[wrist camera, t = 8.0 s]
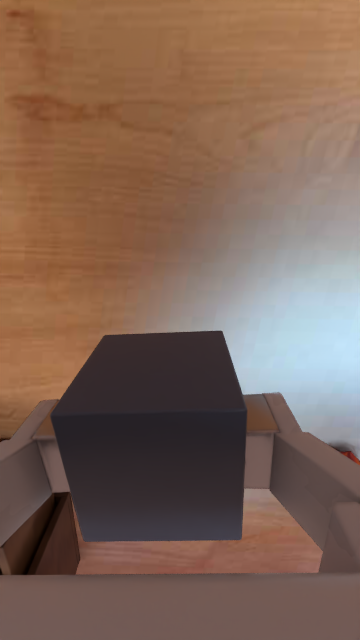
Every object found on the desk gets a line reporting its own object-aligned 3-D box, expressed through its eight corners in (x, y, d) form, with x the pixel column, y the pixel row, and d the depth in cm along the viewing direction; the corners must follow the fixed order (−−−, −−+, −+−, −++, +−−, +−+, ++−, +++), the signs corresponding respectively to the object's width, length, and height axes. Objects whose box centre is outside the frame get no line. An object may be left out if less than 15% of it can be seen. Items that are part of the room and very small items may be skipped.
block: (119, 428, 11) (82, 543, 7) (103, 334, 9) (47, 414, 5) (222, 425, 10) (242, 541, 7) (222, 329, 9) (248, 409, 5)
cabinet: (-11, 487, 34) (-92, 599, 24) (69, 490, 34) (22, 604, 24) (9, 556, 39) (-51, 672, 29) (80, 558, 39) (44, 676, 29)
